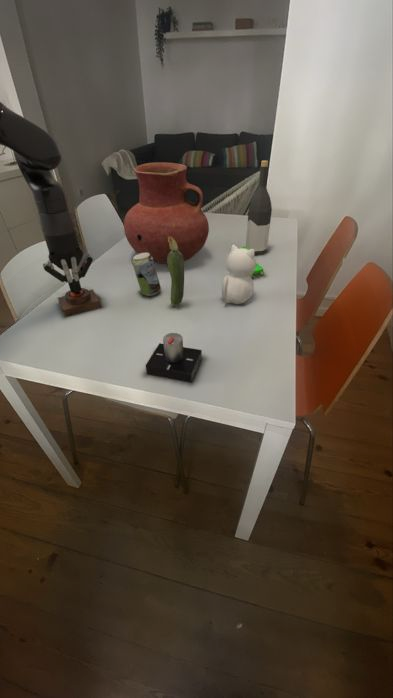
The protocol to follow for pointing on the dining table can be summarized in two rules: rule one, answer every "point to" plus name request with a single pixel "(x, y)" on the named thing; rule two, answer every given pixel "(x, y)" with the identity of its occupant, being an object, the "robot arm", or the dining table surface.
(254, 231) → the wine bottle
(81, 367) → the dining table surface
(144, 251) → the clay pot
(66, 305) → the button block
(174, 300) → the vegetable
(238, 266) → the cat figurine
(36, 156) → the robot arm
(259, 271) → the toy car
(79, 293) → the button
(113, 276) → the dining table surface
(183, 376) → the panel
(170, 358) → the hob knob
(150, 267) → the beverage can
